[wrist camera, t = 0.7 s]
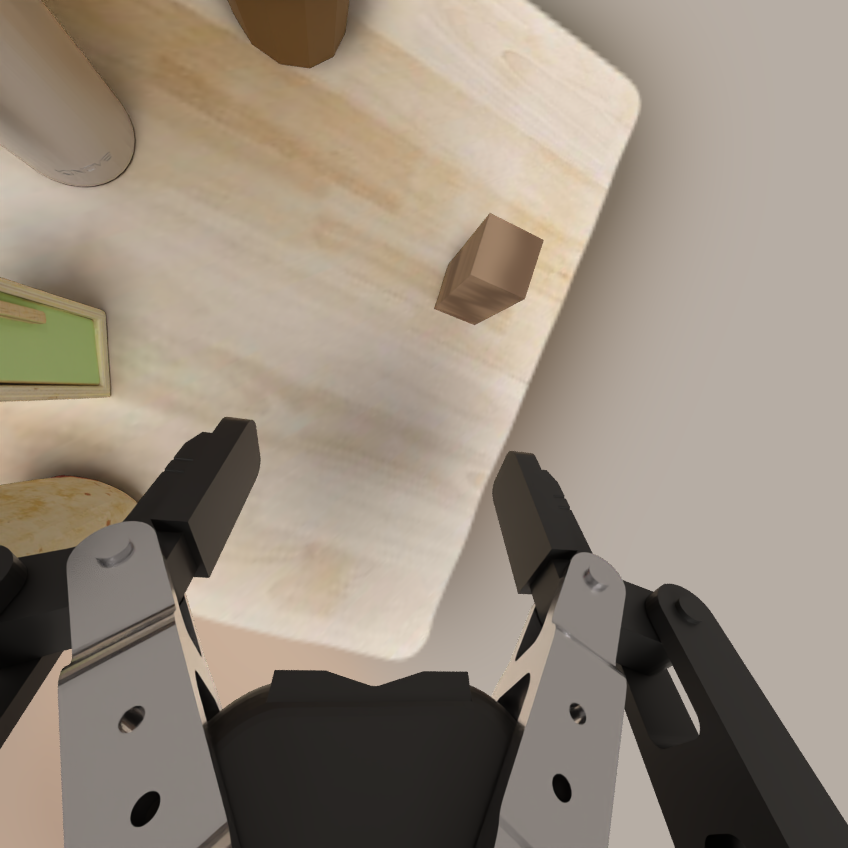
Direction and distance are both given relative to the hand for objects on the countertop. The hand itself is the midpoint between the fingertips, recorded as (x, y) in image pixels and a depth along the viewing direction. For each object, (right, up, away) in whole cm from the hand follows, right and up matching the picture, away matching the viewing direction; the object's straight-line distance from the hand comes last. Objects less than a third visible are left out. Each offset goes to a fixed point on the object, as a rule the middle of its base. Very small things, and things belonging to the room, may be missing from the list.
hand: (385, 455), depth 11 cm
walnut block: (+5, +15, +26) cm, 31 cm away
